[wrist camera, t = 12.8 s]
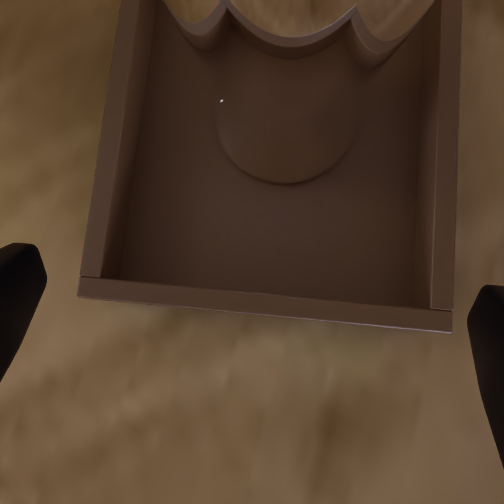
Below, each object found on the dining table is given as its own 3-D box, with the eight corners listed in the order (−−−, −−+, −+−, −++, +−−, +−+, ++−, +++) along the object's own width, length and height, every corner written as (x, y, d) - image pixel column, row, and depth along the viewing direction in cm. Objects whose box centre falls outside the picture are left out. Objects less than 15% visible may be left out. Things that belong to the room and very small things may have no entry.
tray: (424, 330, 17) (452, 334, 15) (105, 299, 18) (75, 297, 15) (438, -47, 20) (466, -105, 17) (156, -60, 21) (138, -117, 18)
